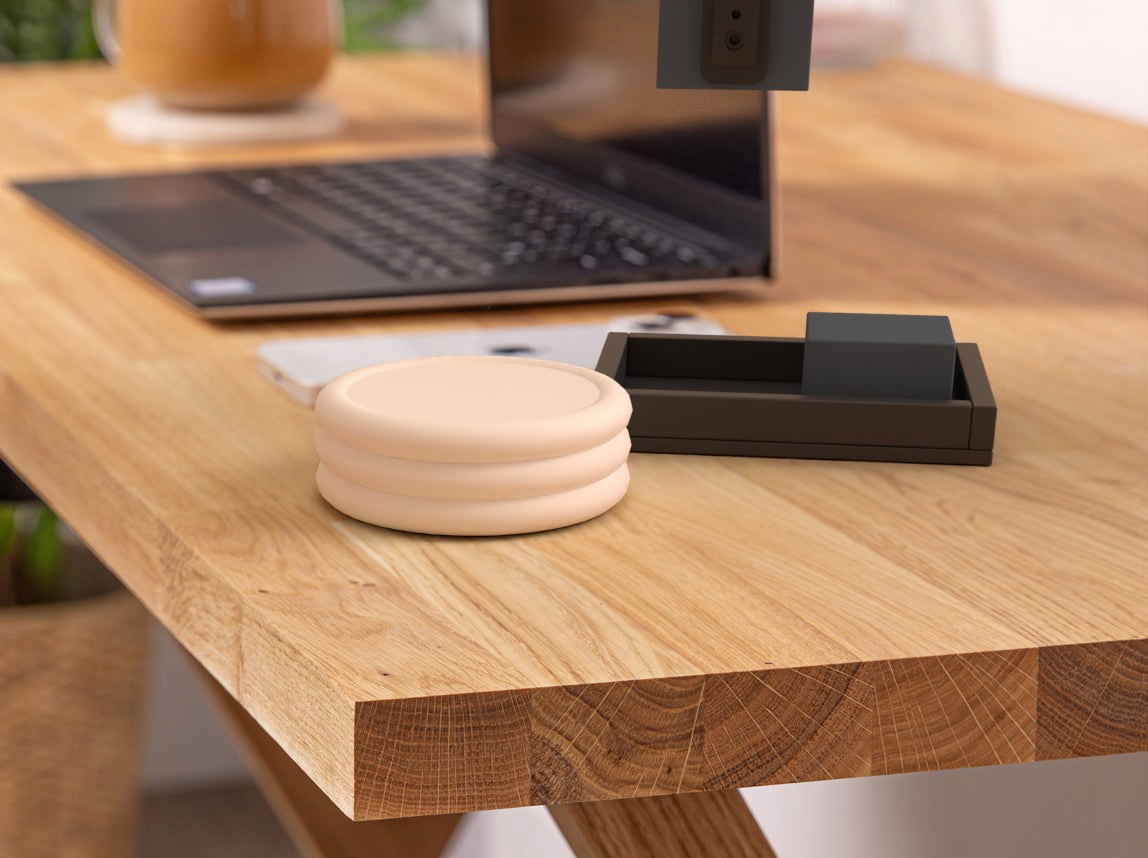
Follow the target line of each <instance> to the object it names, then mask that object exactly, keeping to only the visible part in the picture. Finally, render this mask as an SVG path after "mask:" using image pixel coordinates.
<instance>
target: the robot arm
mask: <svg viewBox="0 0 1148 858" xmlns="http://www.w3.org/2000/svg"><path fill="white" fill-rule="evenodd" d="M771 7H772V0H703V10H702V31H701V52H700V74H701V76H702V78H703V79H704V80H705V81H706V82H708V83H710V84H735V85H754V84H758V83H760V82H761V81H762V80H763V79H764V78H765V76H766V74H767V70H768V58H769V41H770V24H771Z"/></svg>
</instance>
